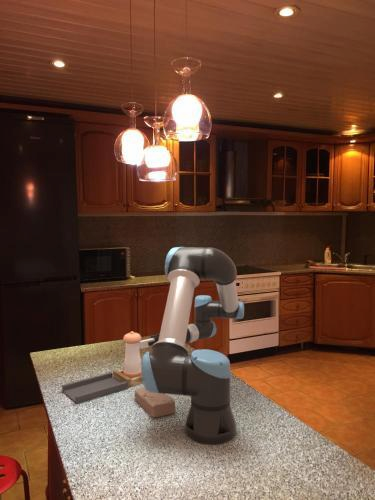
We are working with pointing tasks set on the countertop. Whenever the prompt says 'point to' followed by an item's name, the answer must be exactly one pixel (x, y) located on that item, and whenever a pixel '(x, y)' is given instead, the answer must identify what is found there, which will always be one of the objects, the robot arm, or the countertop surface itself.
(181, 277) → the robot arm
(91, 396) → the grey tray
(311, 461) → the countertop surface
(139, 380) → the oak cradle
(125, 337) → the salt shaker
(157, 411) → the brick
